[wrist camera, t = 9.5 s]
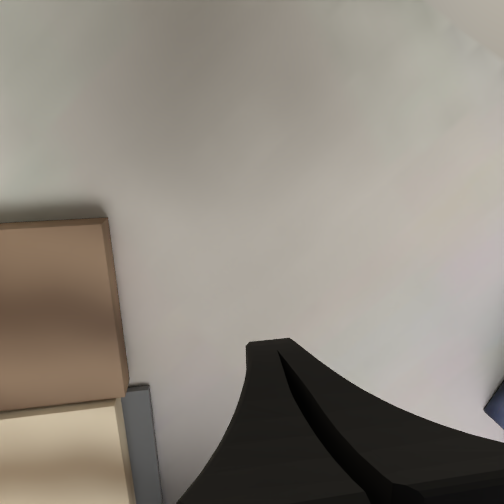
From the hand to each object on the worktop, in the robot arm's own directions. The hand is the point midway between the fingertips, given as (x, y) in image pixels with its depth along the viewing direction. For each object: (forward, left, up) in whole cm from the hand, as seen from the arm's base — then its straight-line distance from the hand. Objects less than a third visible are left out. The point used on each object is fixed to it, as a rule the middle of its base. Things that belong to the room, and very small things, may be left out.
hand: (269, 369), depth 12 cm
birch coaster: (-10, +11, -9) cm, 17 cm away
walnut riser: (-2, +11, -9) cm, 14 cm away
